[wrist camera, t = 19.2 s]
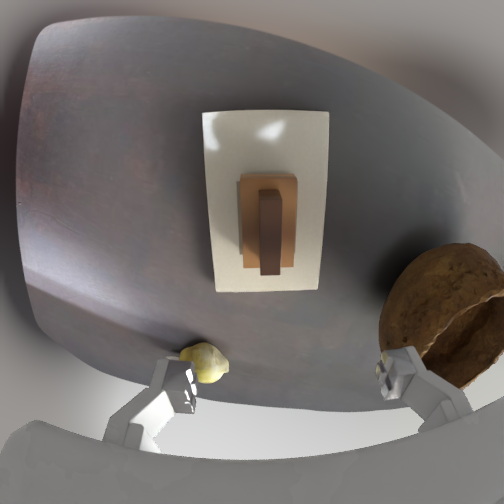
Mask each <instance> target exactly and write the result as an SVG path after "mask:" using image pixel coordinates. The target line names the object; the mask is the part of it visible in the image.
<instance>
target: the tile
mask: <svg viewBox="0 0 504 504" xmlns="http://www.w3.org/2000/svg"><path fill="white" fill-rule="evenodd" d="M202 125H203V144H204V160H205V175H206V189H207V202H208V214H209V226H210V237H211V247H212V257H213V267H214V277H215V286H216V292H255V291H290V290H315V289H318V281H319V272H320V263H321V253H322V243H323V232H324V220H325V206H326V191H327V172H328V147H329V112H323V111H305V110H234V111H216V112H203V113H202ZM241 174H294V175H295V176H296V178H297V203H296V229H295V250H294V267H284V268H281V275H271V276H261V275H260V268H243V247H242V222H241V195H240V176H241Z"/></svg>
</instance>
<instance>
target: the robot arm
mask: <svg viewBox="0 0 504 504" xmlns="http://www.w3.org/2000/svg"><path fill="white" fill-rule="evenodd" d="M380 357H381V359H382V360H380V361H379V362H378V363H377V366H376V378H377V381H378V383H380V384H381V385H382V387H381V392H382V395H383V398H384V400H385V401H387V400H392V399H397V398H400V399H401V400H403V401H404V402H405V403H406V404H407V405H408V406H409V407H411V409H412V410H414V411H415V412H416V413H417V414H418V415H419V416H420V417H421V418H422V419H423V420H425V422H424V423H423V424H422V425H421V426H420V428H419V429H418V431H419V433H417V434H414V435H411V436H408V437H404V438H401V439H397V440H394V441H390V442H386V443H382V444H378V445H374V446H369V447H365V448H360V449H355V450H350V451H344V452H338V453H332V454H325V455H317V456H309V457H299V458H287V459H269V460H221V459H206V458H194V457H193V458H192V457H184V456H183V457H182V456H175V455H167V454H161V453H160V452H161V450H160V449H159V447H158V446H157V445H156V443H155V442H154V441H153V438H154V437H155V436H156V435H157V434H158V433H159V431H161V429H162V428H163V427H164V426H165V425H166V424H167V423H168V422H169V420H170V419H171V418H172V417H173V416H174V415H175V413H188V414H194V413H195V406H196V399H195V395H196V394H197V393H198V375H197V373H196V372H195V364H194V361H182V360H169V359H159V360H158V361H157V363H156V366H155V370H154V373H153V376H152V380H151V383H150V386H149V388H145V389H144V390H143V391H142V392H140V393H139V394H138V395H137V396H135V397H134V398H133V399H132V400H131V401H130V402H128V403H127V404H126V405H124V406H123V407H122V408H121V409H120V410H118V411H117V412H116V413H115V414H114V415H112V416H111V417H110V419H109V422H108V425H107V428H106V431H105V434H104V437H103V440H102V441H99V440H95V439H92V438H88V437H85V436H82V435H79V434H76V433H73V432H70V431H67V430H64V429H61V428H59V427H56V426H53V425H50V424H48V423H46V422H43V421H40V420H34V421H32V422H29V423H28V424H26V425H24V426H22V427H21V428H19V429H18V430H16V431H14V432H13V433H12V434H11V435H10V436H9V438H8V440H7V441H6V443H5V445H4V447H3V449H2V451H1V454H0V504H504V396H503V397H501V398H500V399H498V400H496V401H494V402H492V403H490V404H488V405H486V406H484V407H482V408H480V409H478V410H476V411H474V412H473V410H472V408H471V406H470V404H469V402H468V400H467V398H466V396H465V394H464V392H463V391H461V390H459V389H458V388H456V387H455V386H453V385H452V384H450V383H449V382H447V381H446V380H444V379H442V378H441V377H439V376H438V375H436V374H435V373H433V372H432V371H430V370H428V371H427V370H426V368H425V366H424V364H423V362H422V360H421V358H420V356H419V355H418V353H417V351H416V349H415V347H414V346H408V347H403V348H402V347H401V348H396V349H390V350H384V351H383V352H382V354H381V356H380Z"/></svg>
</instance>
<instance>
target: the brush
mask: <svg viewBox="0 0 504 504" xmlns="http://www.w3.org/2000/svg"><path fill="white" fill-rule="evenodd" d="M240 195H241V222H242V247H243V268H260V275H261V276H271V275H281V268H284V267H294V250H295V229H296V203H297V178H296V176H295V175H294V174H241V176H240Z"/></svg>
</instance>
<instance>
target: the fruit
mask: <svg viewBox="0 0 504 504" xmlns="http://www.w3.org/2000/svg"><path fill="white" fill-rule="evenodd" d="M166 358H168V359H170V360H182V361H194V364H195V372H196V373H197V375H198V381H199V382H202V383H212V382H214V381H217V380H218V379H220V378H221V376H222V374H223V373H225V372H229V363H228V360H227V359H226V358H225V357H224V356H223V355H222V354H221V353H220V352H219V350H218V349H217V348H216V347H214V346H213V345H210V344H208V343H199V344H196V345H194V346H192V347H187V348H185V349H183V350H182V351H181V353H180V356H179V357H178V356H166Z"/></svg>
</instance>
